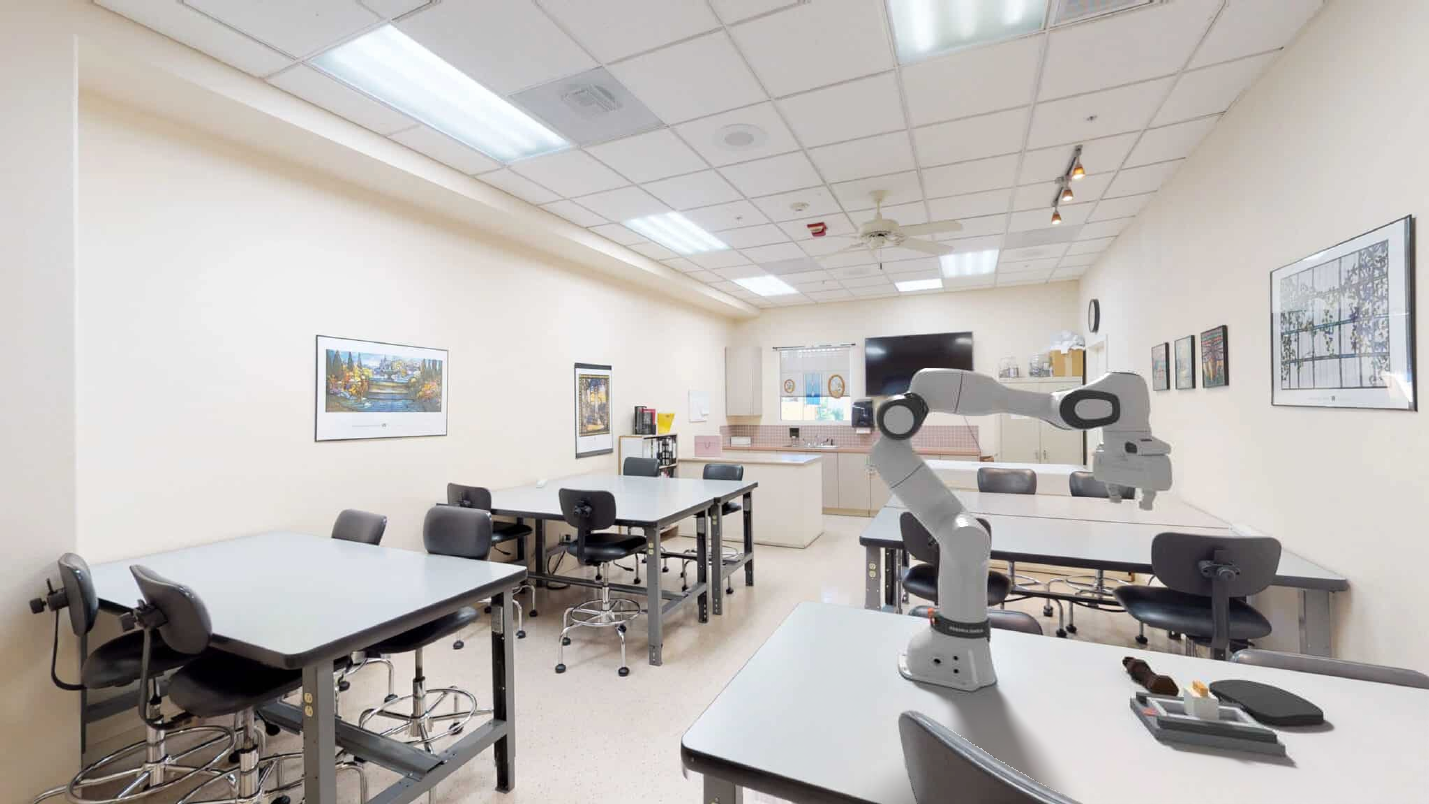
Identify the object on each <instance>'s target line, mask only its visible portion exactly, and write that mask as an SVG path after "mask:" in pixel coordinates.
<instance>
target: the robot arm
mask: <svg viewBox="0 0 1429 804" xmlns="http://www.w3.org/2000/svg"><path fill="white" fill-rule="evenodd" d="M909 384H910V385H909V388H908V390H907V391H906V392H904V393H900V394H893V395H890V396H888V397H886V398H884V399H883V400H882V401H881V402H880V403H879V405H878V407H877V409H876V416H875V419H876V420H875V422H876V425H877V428H878V430H879V432H880V437H879V438H877V440H876V441H875V442H873V444H872V445H871V447H870V448H869V451H868V458H869V461H870V463H871V465H872V466H873V469H874V470H875V471H876V473H877V474H878V476H879V477H880V478H881V480H882V481H883V482H884V484H885V485H886V486H887V487H888V489H889V490H891V492H892V493H893V494H894V495H895V496H896V498H897V499H898V500H899V501H900V503H902V504H903V506H904V507H905V508H906V509H907V510H908V512H910V514H911V515H912V516H913V517H914V518H915V519H917V521H918V522H919V523H920V524H921V525H922V526H923V527H924V529H925V530H927V532H928V533H930V535H931V536H932V537H933V538H934V539H935V540H936V542H937V543H938V546H939V569H938V578H937V595H938V596H937V597H938V598H937V599H938V602H937V603H938V604H937V605H938V610H935V608H932V607H931V608H929V607H928V609H927V610H926V612H927V616H928V618H929V623H930V625H929V626H927V627H925V628H924V629H922V630H920V631H919V632H917V633H915V634H913V635H912V636H911V638H910V640H909V642H908V645H907V650H905V651H904V652H903V651H902V653H900V655H899V656H898V661H897V667H898V671H899V672H900V674H901V675H903V676H904V678H907V679H909V680H914V681H919V682H925V683H930V684H934V685H939V686H943V687H948V688H953V689H958V690H964V691H968V692H973V691H976V690H977V689H980V688H981V687H987V686H990V685H992V684H995V683H996V682H997V680H998V678H997V677H998V676H997V674H996V670H995V668H994V664H993V659H992V653H991V647H990V642H991V638H992V637H991V636H992V635H991V634H992V632H991V630H992V629H991V627H992V626H991V621H990V617H989V615H988V614H989V613H988V579H989V573H990V572H989V571H990V564H991V563H990V561H991V553H992V552H991V551H992V541H991V536H990V534H989V532H988V530H987V529H986V527H985V526H984V525H983V524H981V523H980V521H978V519H976V518H975V516H974V515H973V514H972V513H971V512H970V511H969V510H968V509H967V508H966V507H965V505H964V504H963V503H962V502H961V501H960V500H959V499H958V497H957V496H956V495H955V494H954V493H953V491H952V490H951V489H950V488H949V487H948V486H947V484H945V482H943V480H942V479H941V477H939V476H938V475H937V473H936V472H935V471H934V470H933V469H932V468H931V467H930V466H929V465H928V464H927V463H926V461H925V460H924V459H923V458H922V457H921V456H920V455H919V454H918V452H916V450H915V449H914V447H913V446H912V443H911V438H913V437H914V436H915V435H917V434H918V433H919V431H920V429H921V428H922V427H923V424H924V423H925V420H926V418H927V416H928V415H929V414H931V413H944V414H949V415H956V416H967V417H985V416H990V415H995V414H1012V415H1017V416H1018V415H1019V416H1023V417H1030V418H1036V419H1040V420H1043V421H1045V422H1047V423H1048V424H1050V425H1052V426H1053V427H1055V428H1057V429H1060V430H1065V431H1073V430H1074V431H1089V430H1093V429H1096V428H1101V429H1102V442H1100V443H1099V444H1098V445H1097V446H1096V448H1095V451H1094V454H1093V458H1092V476H1093V479H1094V480H1095V481H1097V482H1100V483H1105V484H1104V485H1105V486H1104V487H1105V489H1106V491H1107V494H1108V496H1109V503H1112V504H1122V501H1123V499H1122V495H1120V494H1119V490H1118V488H1119V486H1122V487H1123V486H1124V487H1128V488H1135V489H1140V490H1141V491H1140V492H1141V495H1142V499H1141V500H1139V501H1138V505H1139V507H1138V509H1140V510H1142V511H1152V510H1153V502H1155V501H1154V500H1155V499H1156V496H1157V492H1167V491H1169V490H1171V488H1172V486H1173V468H1172V461H1171V459H1170V457H1169V456H1168V455H1170V454H1171V452H1172V446H1171V445H1170V444H1169V443H1168V442H1165V441H1163V440H1161V439H1159V438H1158V437H1156V436H1154V435H1153V434H1152V432H1153V431H1152V427H1151V424H1150V421H1149V419H1150V414H1151V400H1150V393H1149V389H1148V388H1149V387H1148V384H1147V380H1145V378H1144V377H1143V376H1141V375H1140V374H1136V373H1132V372H1126V371H1125V372H1124V371H1110V372H1106V373H1104V374H1103V375H1102V376H1100V377H1099V378H1097V379H1094V380H1093V381H1090V382H1089V383H1087V384H1084V385H1081V386H1079V387H1076V388H1072V389H1071V388H1069V389H1068V388H1067V389H1060V390H1056V391H1052V392H1039V391H1038V392H1036V391H1032V390H1031V391H1030V390H1025V389H1024V390H1023V389H1017V388H1011V387H1008V386H1005V385H1004V384H1001V383H1000V382H998V381H997V380H996V379H995V378H994V377H992V376H991V375H990V376H989V375H987V374H983V373H980V372H977V371H972V370H966V369H959V368H956V369H955V368H946V367H945V368H941V367H939V368H932V367H931V368H923V369H920V370H918V371H917V372H916V373H915V374H914V375H913V376H912V379H911V381H910V383H909Z"/></svg>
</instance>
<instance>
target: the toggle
mask: <svg viewBox="0 0 1429 804" xmlns="http://www.w3.org/2000/svg"><path fill="white" fill-rule="evenodd" d="M1182 692H1183V697H1184V712H1185V713H1186V714H1187V715H1188V716H1192V717H1200V718H1207V719H1215V720H1219V700H1218V699H1217V698H1216V697H1215V696H1214V695H1213V694H1212V693H1211V692H1209V687H1206V686H1205V685H1204V684H1203V683H1202V682H1201V681H1198V680H1197V681H1195V680H1192V687H1188V686H1187V687H1186V686H1183V691H1182Z"/></svg>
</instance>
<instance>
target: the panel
mask: <svg viewBox="0 0 1429 804" xmlns="http://www.w3.org/2000/svg"><path fill="white" fill-rule="evenodd" d="M1129 707H1130V710H1132V712H1133V713H1134V714H1135V715H1136V717H1138V719H1139V720H1140V721H1141V722H1142V724H1143V725H1144V727H1145V728H1146V729H1147V730H1148V731H1149V732H1150V734H1151V735H1152V736H1153V738H1154V739H1156V740H1162V741H1168V742H1169V741H1171V742H1176V743H1177V742H1179V743H1184V744H1193V745H1199V746H1206V747H1211V748H1212V747H1215V748H1220V749H1228V750H1235V751H1243V752H1249V753H1255V754H1256V753H1258V754H1264V755H1265V754H1266V755H1271V756H1279V757H1286V756H1287V755H1286V745H1285V743H1283V742H1281V741H1280V740H1279V738H1278V735H1277V734H1276V733H1275V732H1274V731H1273V730H1271V729H1267V728H1266V727H1265V726H1264V725H1262V724H1261V723H1260V722H1258V721H1256V720H1254V719H1253V718H1252V717H1251V716H1250V715H1249V714H1247V713H1246V712H1245V708H1244V707H1243V706H1242V705H1241V704H1236V703H1228V702H1224V701H1223V702H1220V701H1219V720H1215V719H1207V718H1200V717H1192V716H1188V715H1187V714H1186V713H1185V712H1184V696H1178V695H1177V696H1169V695H1160V694H1152V693H1151V692H1141V691H1135V698H1133V697H1129Z"/></svg>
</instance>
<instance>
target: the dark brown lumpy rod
mask: <svg viewBox="0 0 1429 804" xmlns="http://www.w3.org/2000/svg"><path fill="white" fill-rule="evenodd" d="M1121 663H1122V665H1123V666H1124V668H1125V669H1126V670H1127V672H1128V674H1129V675H1130V676H1131V678H1133V679H1134V680H1138V681H1142V682H1143V683H1144V684H1145V686H1146V687H1147V689H1148V690H1149V693H1152V694H1160V695H1169V696H1177V697H1178V695H1179V692H1180V689H1179V686H1178V685H1177V684H1176V682H1175V681H1174V680H1173V678H1172V677H1171V676H1170V675H1164V674H1163V675H1162V674H1157V673H1155V671H1153V670H1152V668H1151V667H1150V665H1149V664H1148V663H1147V662H1146V660H1144V659H1140V658H1135V657H1133V656H1124V658H1123V659H1122V661H1121Z"/></svg>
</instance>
